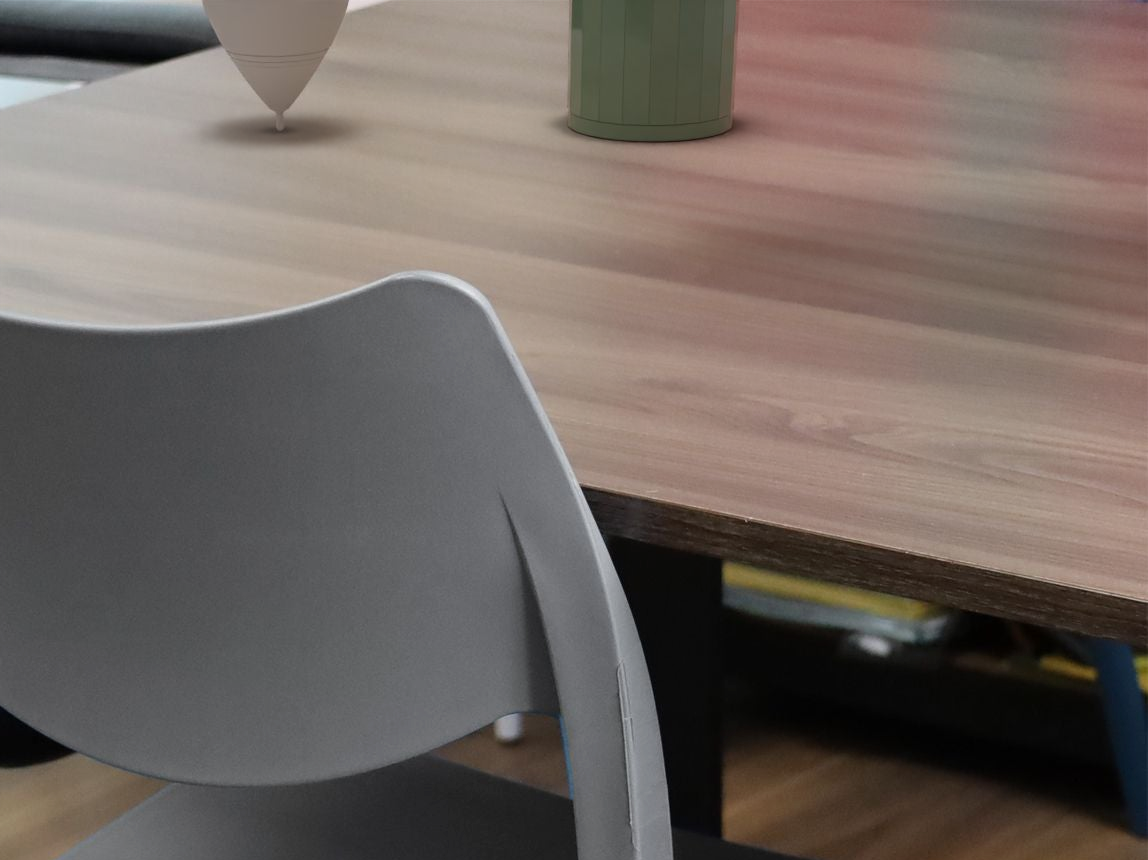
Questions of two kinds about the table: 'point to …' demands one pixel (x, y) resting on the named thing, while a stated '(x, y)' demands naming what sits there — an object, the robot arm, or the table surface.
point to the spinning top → (276, 43)
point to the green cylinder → (652, 68)
